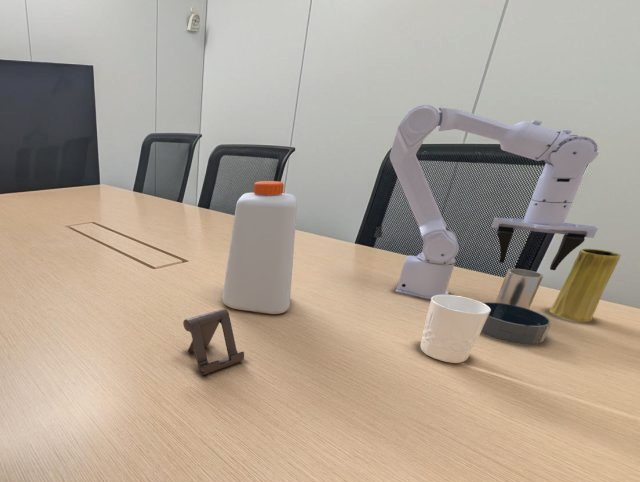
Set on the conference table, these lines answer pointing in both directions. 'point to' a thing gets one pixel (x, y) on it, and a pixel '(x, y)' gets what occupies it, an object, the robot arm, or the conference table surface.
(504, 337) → the dark grey shallow bowl
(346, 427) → the conference table surface
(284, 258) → the plastic bottle
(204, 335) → the tablet stand
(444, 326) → the white cup
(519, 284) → the silver cup
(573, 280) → the vase
